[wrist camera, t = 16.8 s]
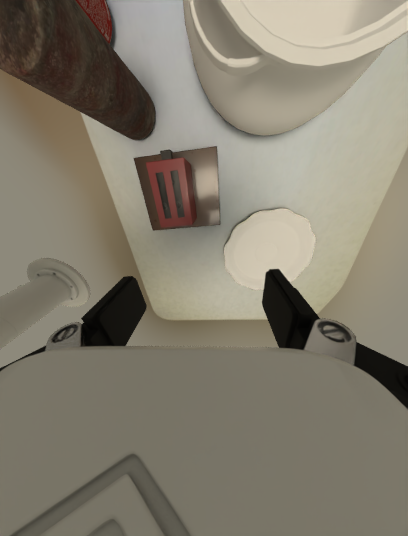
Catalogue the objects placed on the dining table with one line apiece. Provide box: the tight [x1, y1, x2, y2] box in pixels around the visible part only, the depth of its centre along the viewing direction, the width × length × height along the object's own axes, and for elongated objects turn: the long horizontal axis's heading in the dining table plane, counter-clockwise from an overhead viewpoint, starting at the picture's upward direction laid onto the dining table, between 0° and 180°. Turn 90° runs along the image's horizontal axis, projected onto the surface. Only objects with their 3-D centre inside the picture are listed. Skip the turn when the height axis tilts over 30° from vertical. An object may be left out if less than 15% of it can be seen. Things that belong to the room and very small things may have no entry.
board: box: [134, 146, 220, 230], centre depth 31 cm, size 16×14×1 cm
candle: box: [0, 0, 155, 140], centre depth 17 cm, size 8×7×20 cm
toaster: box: [146, 150, 197, 228], centre depth 27 cm, size 6×11×7 cm, turn 6°
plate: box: [224, 208, 316, 290], centre depth 36 cm, size 21×21×2 cm
